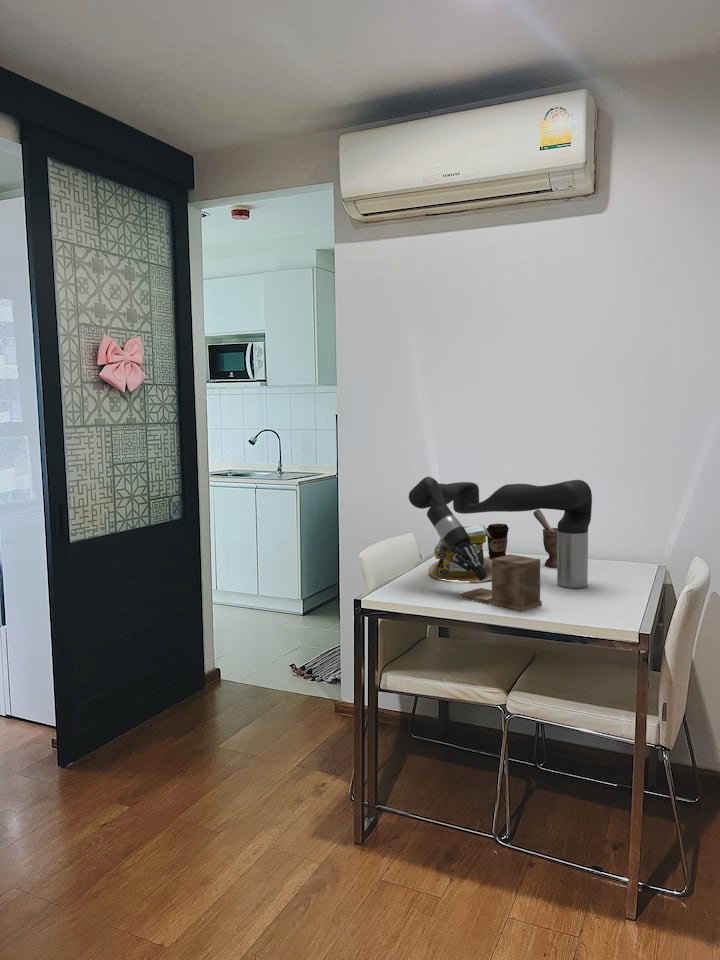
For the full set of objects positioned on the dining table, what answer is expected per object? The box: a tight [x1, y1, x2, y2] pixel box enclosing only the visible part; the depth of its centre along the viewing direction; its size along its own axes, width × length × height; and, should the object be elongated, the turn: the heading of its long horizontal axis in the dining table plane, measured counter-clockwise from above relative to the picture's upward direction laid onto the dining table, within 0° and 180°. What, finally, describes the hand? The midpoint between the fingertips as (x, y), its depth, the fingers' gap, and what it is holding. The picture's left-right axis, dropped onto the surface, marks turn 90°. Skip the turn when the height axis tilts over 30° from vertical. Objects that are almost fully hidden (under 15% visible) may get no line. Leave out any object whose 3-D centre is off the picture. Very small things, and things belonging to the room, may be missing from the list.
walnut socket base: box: [459, 553, 543, 613], centre depth 212 cm, size 22×10×13 cm, turn 42°
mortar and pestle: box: [532, 509, 558, 568], centre depth 257 cm, size 12×9×20 cm
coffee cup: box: [486, 523, 510, 560], centre depth 270 cm, size 9×8×13 cm
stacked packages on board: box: [427, 524, 492, 583], centre depth 247 cm, size 25×25×17 cm
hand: (483, 578), depth 216 cm, fingers closed
